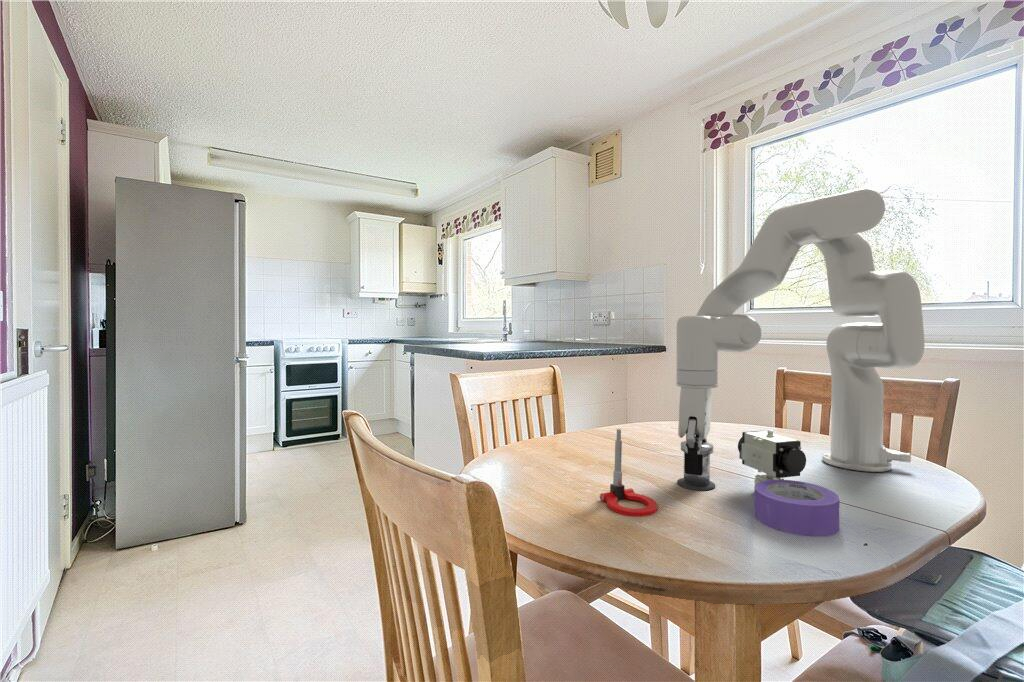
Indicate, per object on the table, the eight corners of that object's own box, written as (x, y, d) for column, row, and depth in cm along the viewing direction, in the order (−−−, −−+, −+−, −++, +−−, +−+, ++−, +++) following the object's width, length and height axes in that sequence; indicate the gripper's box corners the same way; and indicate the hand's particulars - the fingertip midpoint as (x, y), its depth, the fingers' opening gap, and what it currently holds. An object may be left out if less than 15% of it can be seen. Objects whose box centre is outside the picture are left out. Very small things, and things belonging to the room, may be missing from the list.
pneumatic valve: (756, 483, 95) (757, 423, 95) (806, 505, 84) (807, 436, 83) (732, 486, 94) (733, 425, 93) (780, 508, 82) (781, 438, 82)
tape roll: (796, 542, 70) (797, 508, 70) (737, 512, 81) (738, 483, 81) (858, 532, 73) (858, 499, 73) (793, 504, 84) (793, 476, 84)
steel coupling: (714, 480, 96) (714, 442, 96) (711, 489, 91) (711, 449, 91) (683, 476, 99) (683, 439, 99) (677, 484, 94) (678, 446, 93)
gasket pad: (717, 482, 96) (717, 480, 96) (713, 492, 90) (713, 491, 90) (680, 477, 99) (680, 475, 99) (674, 487, 93) (674, 485, 93)
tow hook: (667, 514, 81) (633, 494, 90) (670, 439, 80) (635, 426, 89) (626, 522, 78) (595, 501, 86) (628, 444, 77) (596, 430, 85)
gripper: (684, 373, 103) (683, 456, 104) (668, 382, 88) (668, 478, 89) (721, 375, 100) (721, 460, 100) (712, 384, 85) (711, 485, 85)
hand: (696, 468), depth 95 cm, fingers open, 6 cm apart
